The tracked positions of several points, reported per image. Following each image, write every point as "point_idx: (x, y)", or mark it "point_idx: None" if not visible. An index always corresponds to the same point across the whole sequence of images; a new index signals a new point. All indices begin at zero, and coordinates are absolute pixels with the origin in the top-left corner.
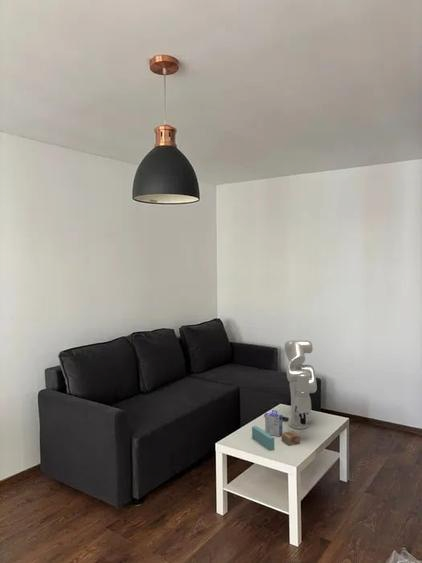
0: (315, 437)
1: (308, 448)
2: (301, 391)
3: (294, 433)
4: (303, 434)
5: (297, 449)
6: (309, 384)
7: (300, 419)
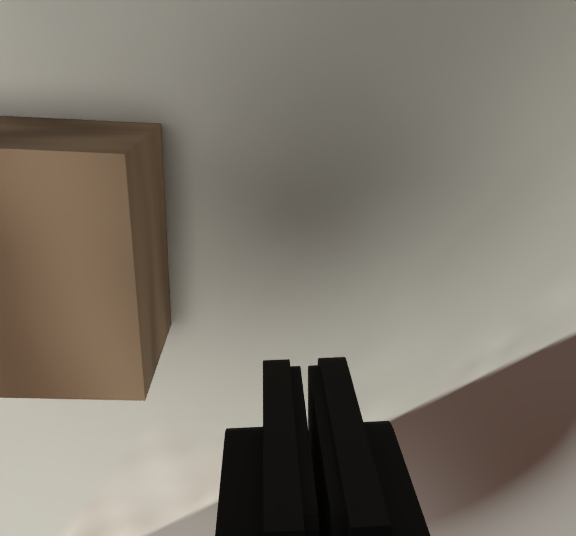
0: (517, 246)
1: (192, 460)
2: None
3: (89, 282)
4: (444, 52)
5: (45, 435)
6: None
7: (219, 511)
